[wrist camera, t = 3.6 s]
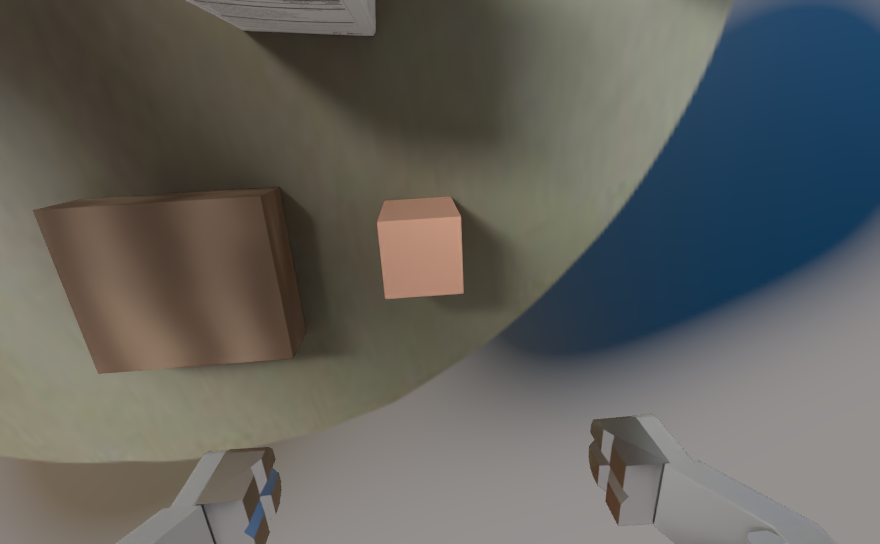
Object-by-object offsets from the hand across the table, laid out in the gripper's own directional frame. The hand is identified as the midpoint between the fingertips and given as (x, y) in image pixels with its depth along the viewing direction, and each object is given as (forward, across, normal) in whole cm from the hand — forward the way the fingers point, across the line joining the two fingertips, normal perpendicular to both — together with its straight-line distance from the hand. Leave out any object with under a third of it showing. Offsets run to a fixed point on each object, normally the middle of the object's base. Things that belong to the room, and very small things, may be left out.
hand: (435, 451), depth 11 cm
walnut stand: (+23, +17, +2) cm, 28 cm away
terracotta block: (+23, 0, 0) cm, 23 cm away
